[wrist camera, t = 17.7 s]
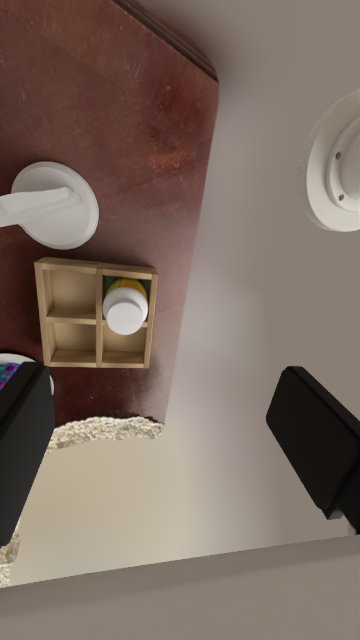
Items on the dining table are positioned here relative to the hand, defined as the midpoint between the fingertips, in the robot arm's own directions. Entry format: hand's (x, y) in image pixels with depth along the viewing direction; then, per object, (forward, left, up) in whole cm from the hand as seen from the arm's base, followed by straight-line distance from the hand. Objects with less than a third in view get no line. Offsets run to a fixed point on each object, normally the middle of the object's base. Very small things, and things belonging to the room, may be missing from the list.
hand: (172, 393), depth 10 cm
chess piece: (+11, -6, -28) cm, 31 cm away
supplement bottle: (+2, +4, -27) cm, 27 cm away
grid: (+6, +8, -28) cm, 29 cm away
